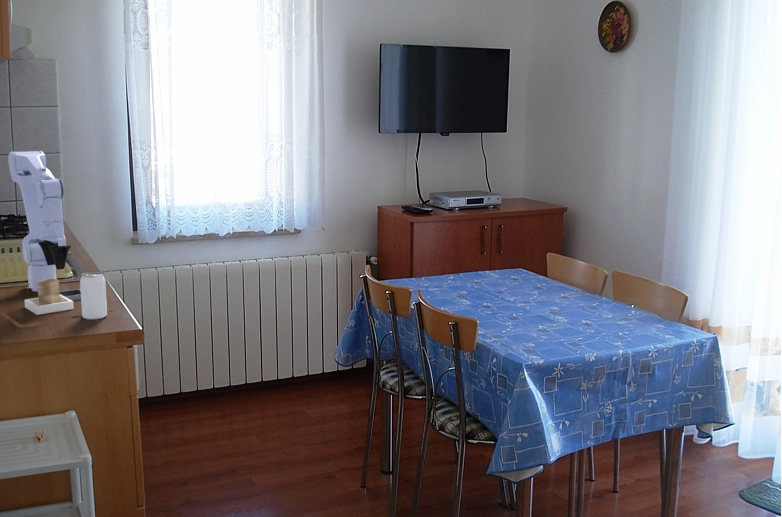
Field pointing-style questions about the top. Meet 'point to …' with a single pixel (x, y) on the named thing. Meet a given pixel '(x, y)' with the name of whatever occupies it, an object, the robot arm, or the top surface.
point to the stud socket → (72, 294)
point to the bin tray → (48, 305)
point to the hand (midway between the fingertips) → (55, 267)
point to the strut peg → (48, 291)
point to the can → (93, 296)
